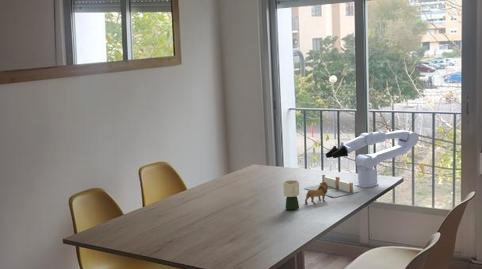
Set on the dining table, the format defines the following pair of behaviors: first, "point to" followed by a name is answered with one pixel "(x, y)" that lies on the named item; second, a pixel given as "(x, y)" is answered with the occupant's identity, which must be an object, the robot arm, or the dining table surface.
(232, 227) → the dining table surface
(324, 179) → the hinged fence panel
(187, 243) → the dining table surface
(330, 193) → the card
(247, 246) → the dining table surface
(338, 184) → the fixed fence panel
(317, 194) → the lion figurine
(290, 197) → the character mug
